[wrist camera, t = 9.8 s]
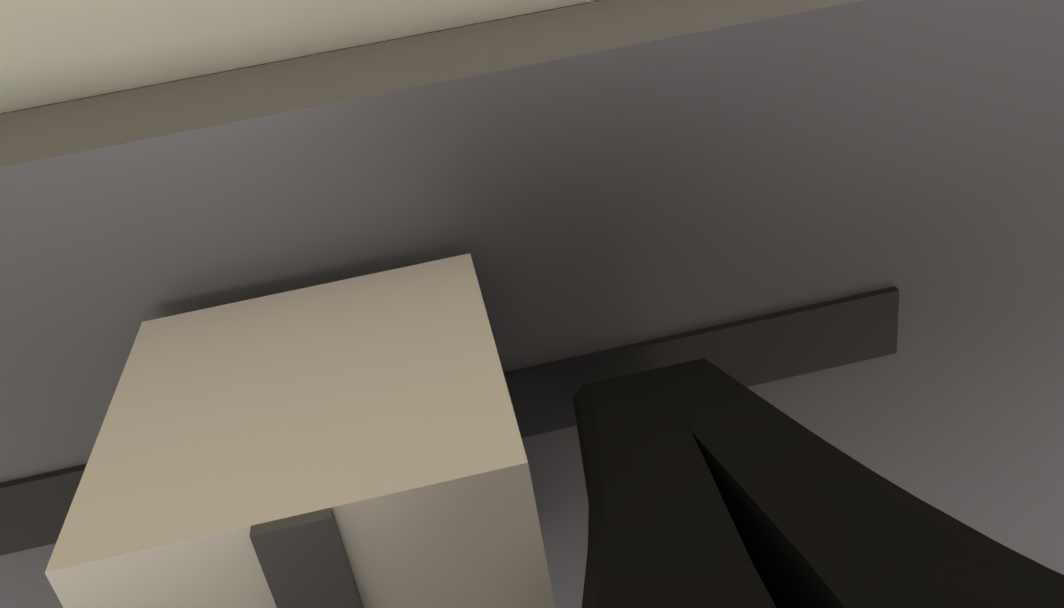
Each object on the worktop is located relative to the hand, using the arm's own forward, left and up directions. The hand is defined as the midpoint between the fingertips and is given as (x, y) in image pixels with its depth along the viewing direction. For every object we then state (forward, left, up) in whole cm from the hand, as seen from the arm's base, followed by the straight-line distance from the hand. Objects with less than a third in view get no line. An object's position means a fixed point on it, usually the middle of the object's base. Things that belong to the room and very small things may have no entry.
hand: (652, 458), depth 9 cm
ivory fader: (0, +3, -1) cm, 3 cm away
